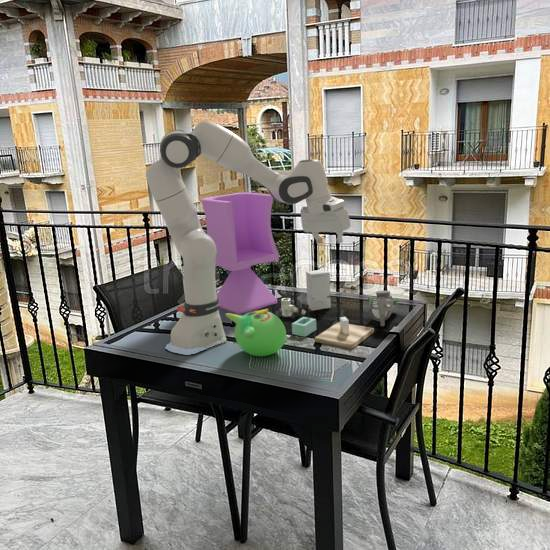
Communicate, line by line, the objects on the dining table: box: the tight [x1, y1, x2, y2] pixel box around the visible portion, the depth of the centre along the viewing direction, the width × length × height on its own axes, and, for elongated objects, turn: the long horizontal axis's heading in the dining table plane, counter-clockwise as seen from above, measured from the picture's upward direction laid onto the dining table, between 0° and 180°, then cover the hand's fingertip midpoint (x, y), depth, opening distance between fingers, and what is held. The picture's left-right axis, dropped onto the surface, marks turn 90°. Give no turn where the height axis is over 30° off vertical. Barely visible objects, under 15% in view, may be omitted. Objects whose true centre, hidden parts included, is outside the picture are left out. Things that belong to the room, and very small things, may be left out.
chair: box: [200, 192, 280, 316], centre depth 219 cm, size 22×22×45 cm
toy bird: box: [224, 308, 287, 357], centre depth 172 cm, size 18×17×15 cm
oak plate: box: [314, 321, 375, 350], centre depth 182 cm, size 16×14×2 cm
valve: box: [280, 297, 312, 320], centre depth 204 cm, size 7×7×12 cm
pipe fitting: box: [368, 290, 399, 322], centre depth 198 cm, size 12×8×10 cm, turn 144°
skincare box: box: [305, 269, 332, 311], centre depth 212 cm, size 8×6×15 cm
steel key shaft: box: [339, 316, 350, 335], centre depth 181 cm, size 4×2×5 cm, turn 9°
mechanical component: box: [367, 297, 398, 327], centre depth 189 cm, size 3×10×10 cm, turn 59°
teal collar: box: [291, 316, 318, 337], centre depth 189 cm, size 7×5×4 cm
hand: (329, 243), depth 188 cm, fingers open, 8 cm apart
